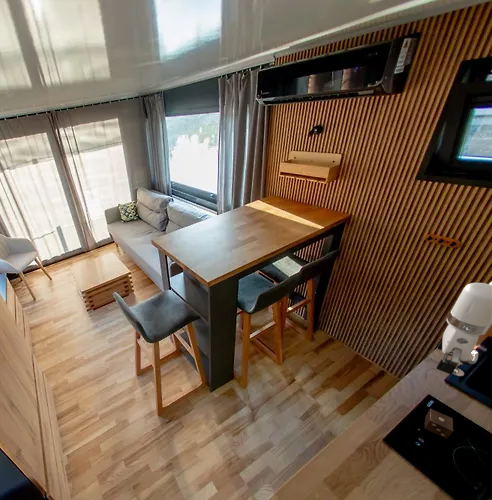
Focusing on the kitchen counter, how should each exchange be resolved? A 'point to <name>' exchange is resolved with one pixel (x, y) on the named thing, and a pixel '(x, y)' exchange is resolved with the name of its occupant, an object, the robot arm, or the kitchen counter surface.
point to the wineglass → (466, 363)
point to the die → (439, 423)
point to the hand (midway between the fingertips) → (443, 360)
